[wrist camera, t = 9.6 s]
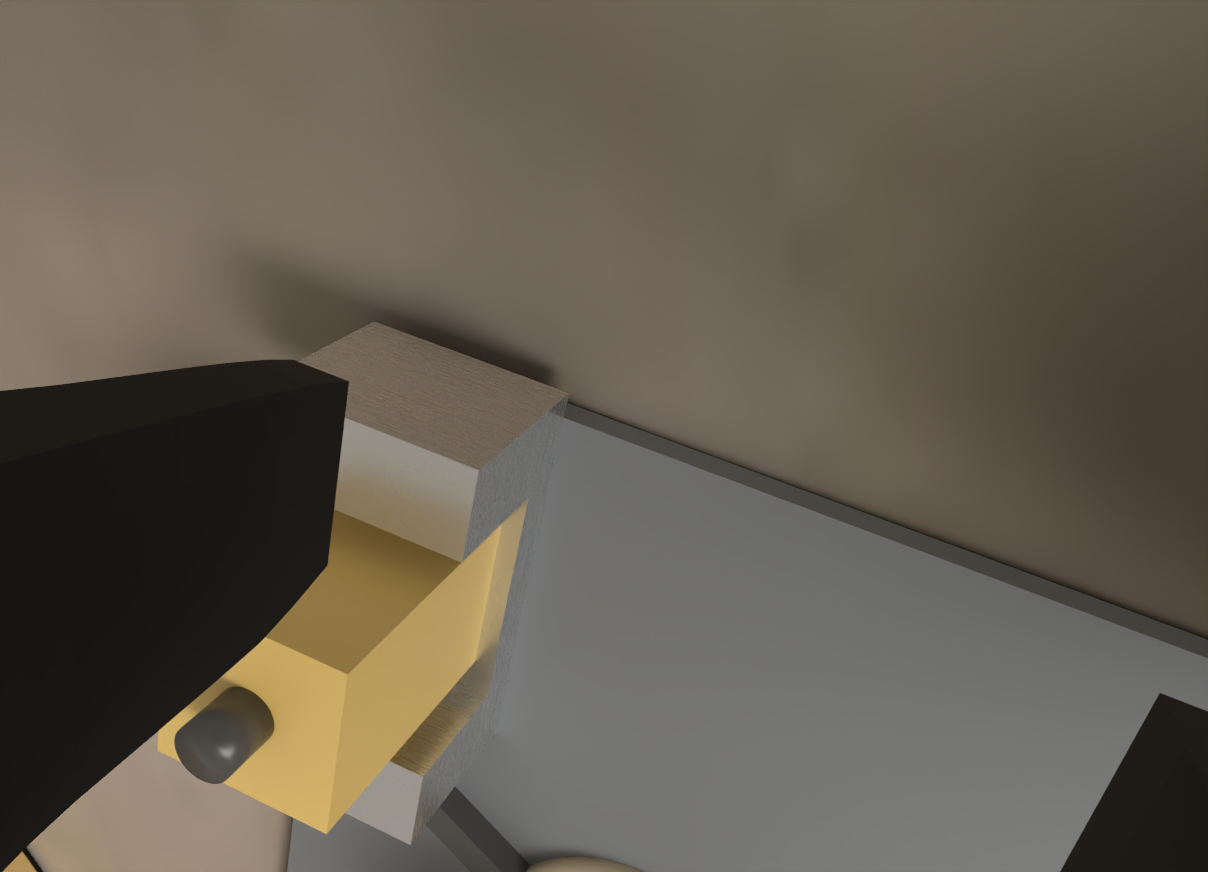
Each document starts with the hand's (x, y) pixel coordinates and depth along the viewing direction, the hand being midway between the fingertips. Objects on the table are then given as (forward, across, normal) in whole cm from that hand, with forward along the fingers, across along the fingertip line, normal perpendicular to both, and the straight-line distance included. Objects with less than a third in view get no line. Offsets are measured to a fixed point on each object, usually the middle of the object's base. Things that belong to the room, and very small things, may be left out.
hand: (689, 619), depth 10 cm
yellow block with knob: (+8, +6, +7) cm, 13 cm away
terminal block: (+9, +6, +7) cm, 13 cm away
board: (+10, 0, +12) cm, 16 cm away
